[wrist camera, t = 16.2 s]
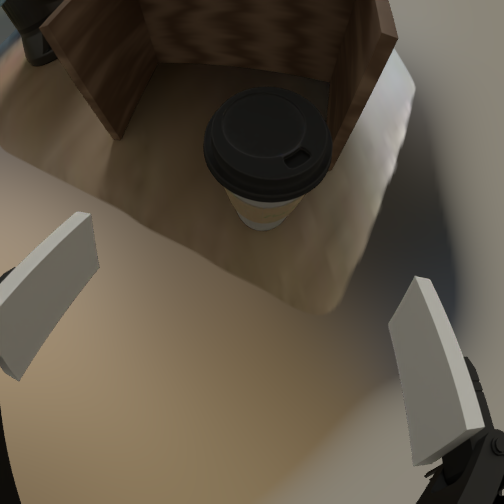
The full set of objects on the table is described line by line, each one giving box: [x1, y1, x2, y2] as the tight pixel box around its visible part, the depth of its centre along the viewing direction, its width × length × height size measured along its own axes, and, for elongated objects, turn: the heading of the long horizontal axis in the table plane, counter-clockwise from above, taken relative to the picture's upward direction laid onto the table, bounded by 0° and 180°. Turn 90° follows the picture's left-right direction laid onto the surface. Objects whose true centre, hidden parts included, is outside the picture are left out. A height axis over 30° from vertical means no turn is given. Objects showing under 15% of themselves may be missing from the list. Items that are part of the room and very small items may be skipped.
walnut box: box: [39, 0, 398, 171], centre depth 26 cm, size 28×16×22 cm, turn 79°
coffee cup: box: [203, 87, 333, 231], centre depth 27 cm, size 9×9×15 cm
